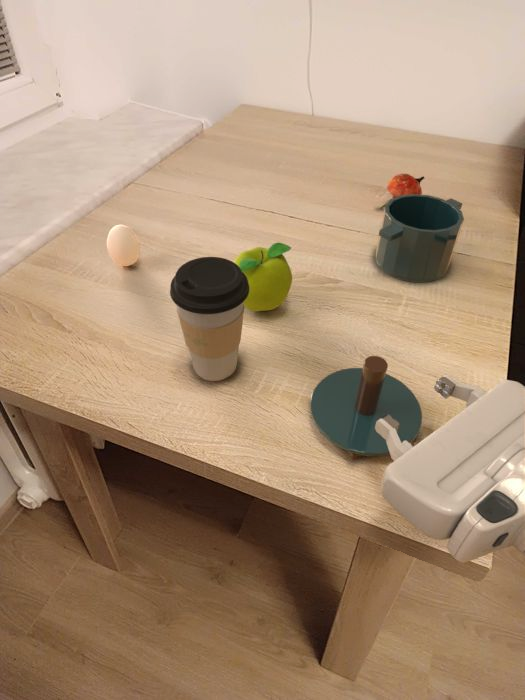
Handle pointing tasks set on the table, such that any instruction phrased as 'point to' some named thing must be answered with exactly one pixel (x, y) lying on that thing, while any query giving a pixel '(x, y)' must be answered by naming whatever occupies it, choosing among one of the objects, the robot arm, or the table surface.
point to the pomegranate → (404, 185)
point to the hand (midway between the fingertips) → (410, 400)
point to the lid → (364, 408)
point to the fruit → (265, 276)
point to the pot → (418, 237)
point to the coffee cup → (211, 313)
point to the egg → (123, 245)
